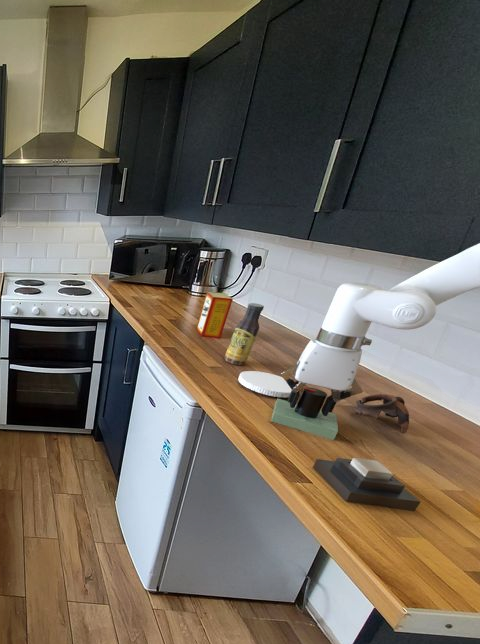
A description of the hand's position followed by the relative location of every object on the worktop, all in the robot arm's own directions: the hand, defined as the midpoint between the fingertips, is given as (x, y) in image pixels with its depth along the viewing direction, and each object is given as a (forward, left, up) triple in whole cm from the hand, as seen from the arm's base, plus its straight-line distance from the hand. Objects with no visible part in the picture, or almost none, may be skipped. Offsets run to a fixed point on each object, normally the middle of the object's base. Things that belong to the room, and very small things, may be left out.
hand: (307, 408), depth 97 cm
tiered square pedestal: (-7, +24, -4) cm, 25 cm away
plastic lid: (+7, -17, -4) cm, 19 cm away
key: (-7, +24, 0) cm, 25 cm away
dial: (0, 0, -1) cm, 1 cm away
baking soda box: (+25, -64, -4) cm, 69 cm away
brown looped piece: (-17, -13, -4) cm, 22 cm away
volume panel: (0, 0, -4) cm, 4 cm away
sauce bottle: (+15, -35, -4) cm, 38 cm away
